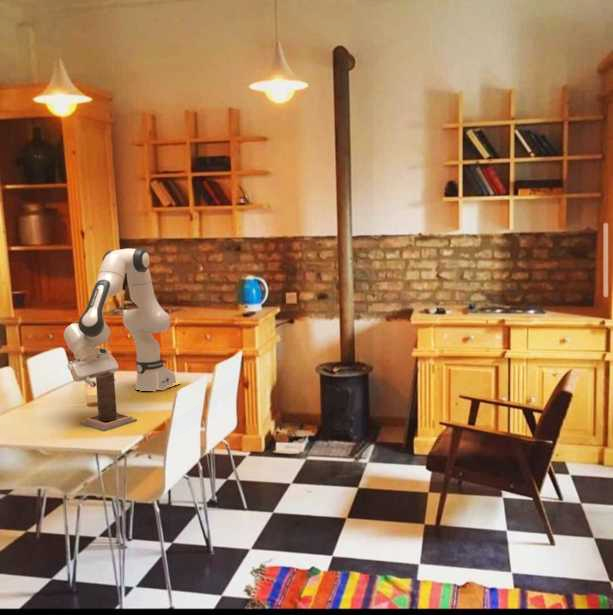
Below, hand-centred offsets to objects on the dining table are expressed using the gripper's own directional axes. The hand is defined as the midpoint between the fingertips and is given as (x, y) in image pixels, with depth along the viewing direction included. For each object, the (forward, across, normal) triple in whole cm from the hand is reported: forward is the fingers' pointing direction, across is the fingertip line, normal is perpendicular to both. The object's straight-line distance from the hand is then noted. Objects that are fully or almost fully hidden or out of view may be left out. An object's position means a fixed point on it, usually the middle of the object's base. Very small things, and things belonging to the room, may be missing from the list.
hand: (103, 383), depth 282 cm
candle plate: (+13, 0, +10) cm, 16 cm away
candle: (+12, -1, +10) cm, 15 cm away
